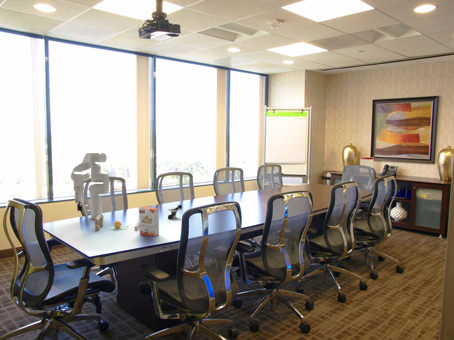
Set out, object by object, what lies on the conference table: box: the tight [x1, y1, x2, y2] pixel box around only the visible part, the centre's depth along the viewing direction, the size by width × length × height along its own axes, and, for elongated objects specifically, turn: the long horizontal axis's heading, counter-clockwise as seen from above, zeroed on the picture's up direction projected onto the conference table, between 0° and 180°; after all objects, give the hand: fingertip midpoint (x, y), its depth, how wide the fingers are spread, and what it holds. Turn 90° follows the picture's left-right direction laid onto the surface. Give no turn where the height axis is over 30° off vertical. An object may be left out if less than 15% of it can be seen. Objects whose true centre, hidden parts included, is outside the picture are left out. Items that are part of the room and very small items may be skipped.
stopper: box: [134, 220, 140, 231], centre depth 303 cm, size 20×2×3 cm, turn 6°
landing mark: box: [109, 224, 129, 231], centre depth 302 cm, size 13×13×1 cm
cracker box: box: [138, 206, 160, 237], centre depth 279 cm, size 14×6×21 cm, turn 66°
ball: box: [113, 220, 122, 228], centre depth 300 cm, size 6×6×6 cm
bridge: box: [94, 214, 104, 232], centre depth 300 cm, size 3×15×10 cm, turn 6°
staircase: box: [167, 204, 183, 220], centre depth 336 cm, size 9×10×12 cm
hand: (79, 210), depth 297 cm, fingers closed
